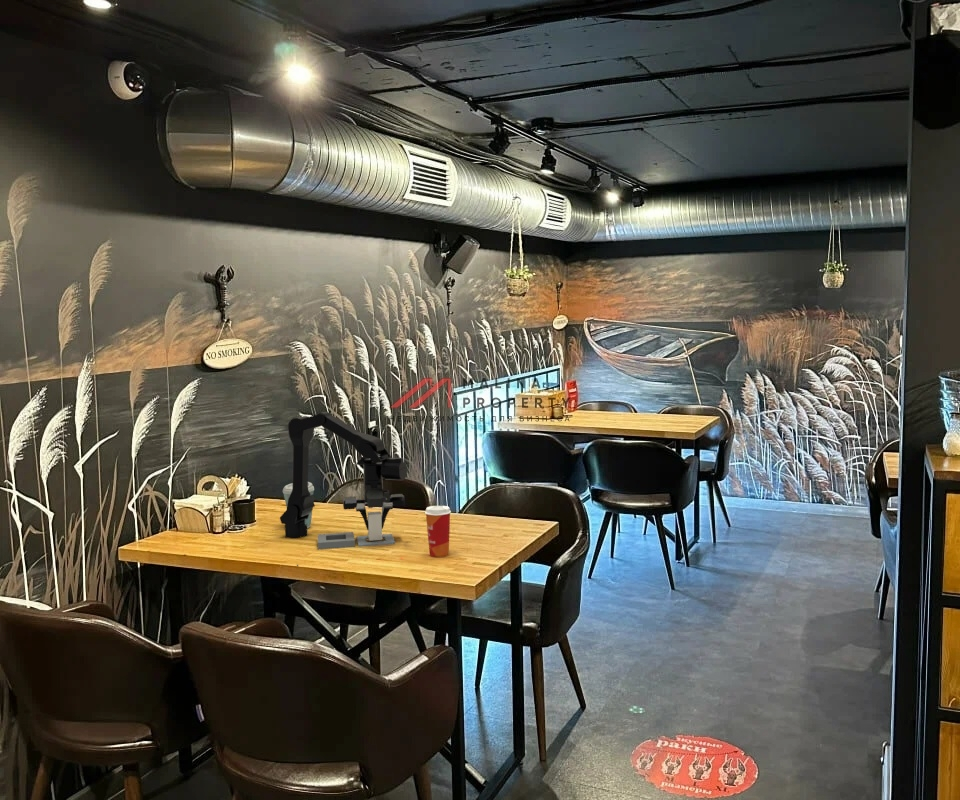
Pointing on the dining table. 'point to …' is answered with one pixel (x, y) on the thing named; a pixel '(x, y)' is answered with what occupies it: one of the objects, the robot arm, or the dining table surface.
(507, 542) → the dining table surface
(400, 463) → the robot arm
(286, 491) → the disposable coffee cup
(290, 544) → the dining table surface
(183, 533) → the dining table surface
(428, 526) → the paper cup
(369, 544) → the low dock
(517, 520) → the dining table surface
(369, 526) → the plug
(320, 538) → the raised dock
